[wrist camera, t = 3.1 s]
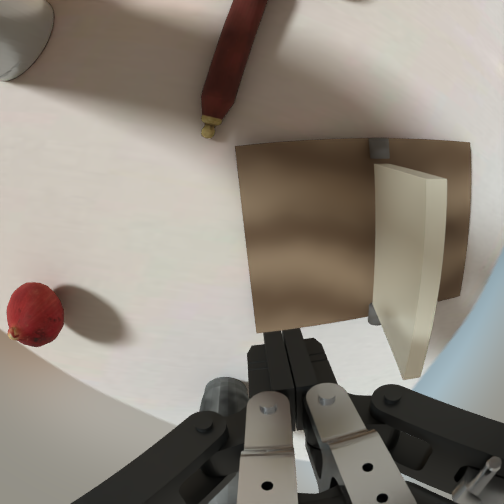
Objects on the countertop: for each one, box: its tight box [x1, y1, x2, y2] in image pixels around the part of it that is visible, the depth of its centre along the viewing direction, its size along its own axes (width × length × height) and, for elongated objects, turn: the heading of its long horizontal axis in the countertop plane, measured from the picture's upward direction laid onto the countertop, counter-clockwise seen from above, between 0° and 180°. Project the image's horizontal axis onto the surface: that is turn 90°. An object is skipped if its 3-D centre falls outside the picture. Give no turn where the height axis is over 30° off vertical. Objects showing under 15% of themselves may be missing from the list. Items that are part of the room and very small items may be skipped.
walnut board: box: [235, 138, 471, 333], centre depth 25 cm, size 16×22×3 cm
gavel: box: [201, 0, 268, 138], centre depth 19 cm, size 21×5×10 cm
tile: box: [372, 164, 447, 380], centre depth 19 cm, size 12×10×1 cm
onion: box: [7, 282, 64, 347], centre depth 23 cm, size 6×6×8 cm
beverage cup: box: [199, 377, 249, 504], centre depth 21 cm, size 7×7×20 cm
